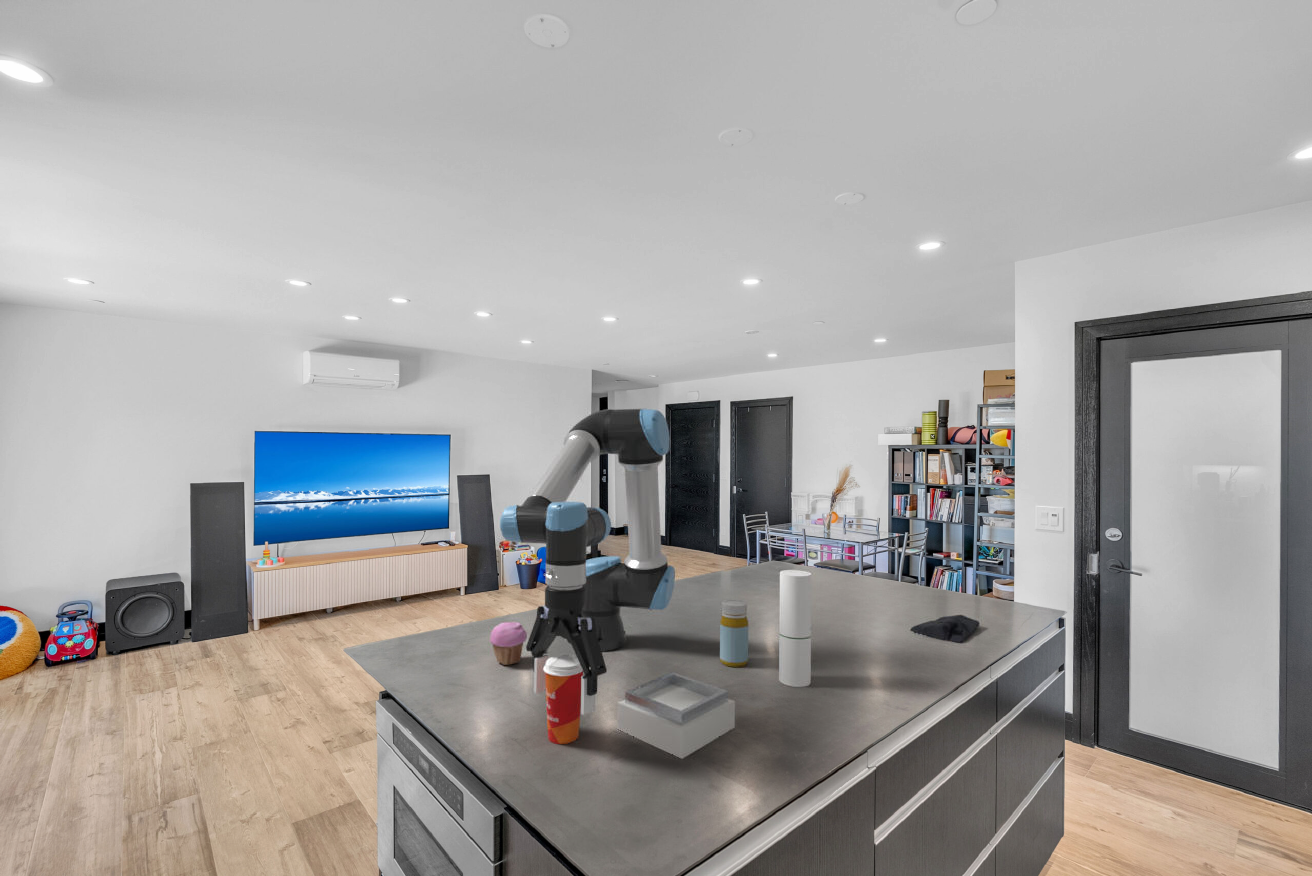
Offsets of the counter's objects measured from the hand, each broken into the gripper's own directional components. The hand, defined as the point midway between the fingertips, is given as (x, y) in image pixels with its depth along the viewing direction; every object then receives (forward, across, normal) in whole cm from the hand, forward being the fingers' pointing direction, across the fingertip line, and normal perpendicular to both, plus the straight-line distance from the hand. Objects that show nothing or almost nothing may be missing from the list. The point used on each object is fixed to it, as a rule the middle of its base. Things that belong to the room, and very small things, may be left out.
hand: (563, 701), depth 109 cm
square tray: (+7, +13, +17) cm, 23 cm away
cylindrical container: (+6, +18, +54) cm, 58 cm away
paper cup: (+7, 0, 0) cm, 7 cm away
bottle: (+6, +1, +54) cm, 55 cm away
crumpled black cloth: (+6, +32, +122) cm, 126 cm away
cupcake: (+7, -40, +15) cm, 43 cm away
